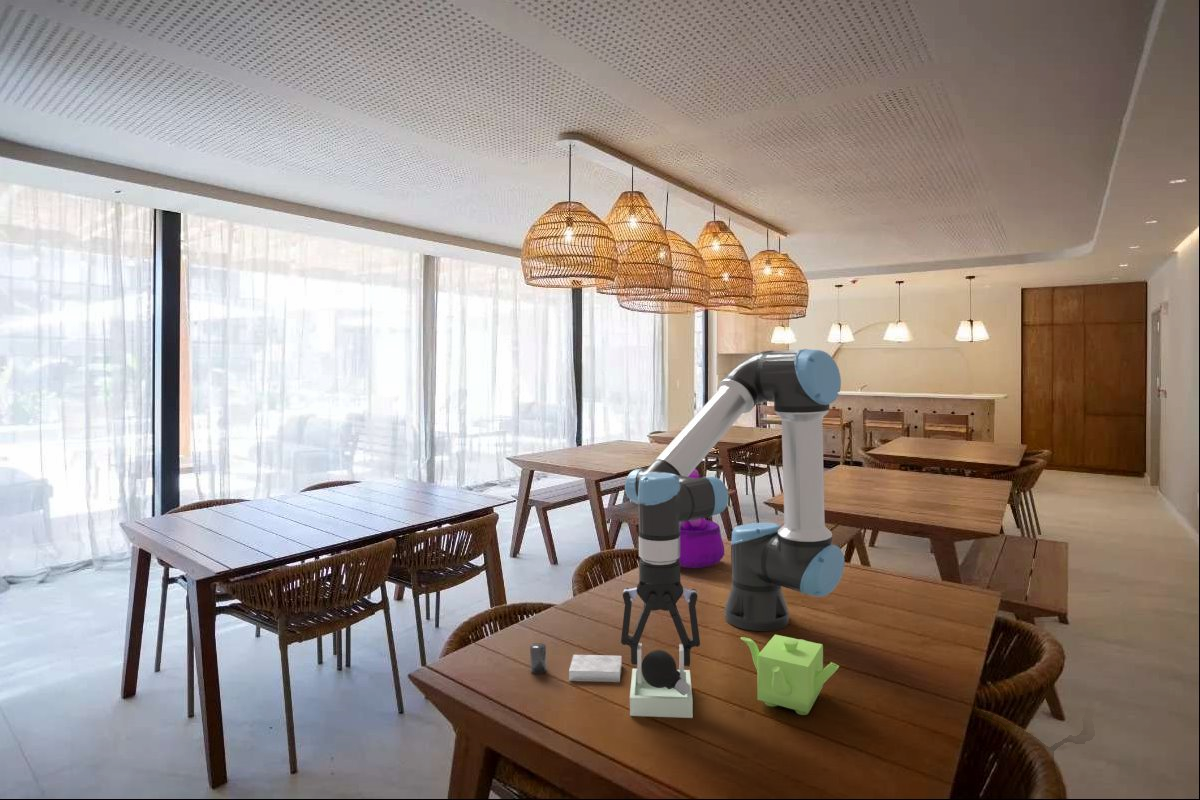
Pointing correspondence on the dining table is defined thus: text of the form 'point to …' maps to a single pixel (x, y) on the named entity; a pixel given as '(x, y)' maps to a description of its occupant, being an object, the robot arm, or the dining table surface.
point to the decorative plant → (700, 541)
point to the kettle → (790, 672)
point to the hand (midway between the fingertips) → (660, 681)
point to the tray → (659, 699)
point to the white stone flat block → (595, 668)
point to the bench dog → (538, 658)
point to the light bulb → (663, 672)
